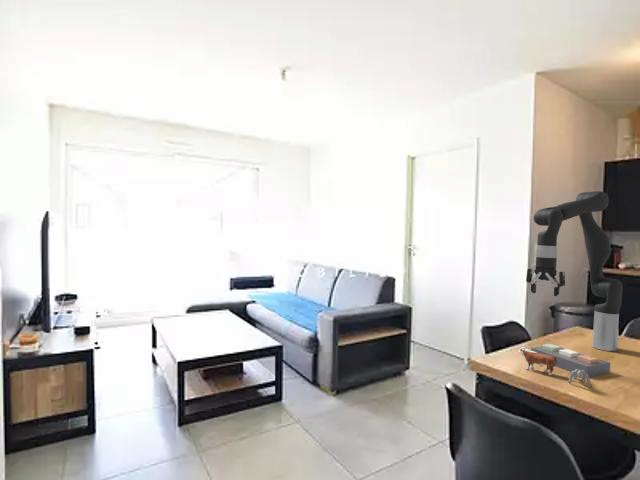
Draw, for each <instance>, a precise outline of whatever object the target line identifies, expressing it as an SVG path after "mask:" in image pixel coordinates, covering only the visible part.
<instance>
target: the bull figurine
mask: <svg viewBox="0 0 640 480" xmlns="http://www.w3.org/2000/svg"><path fill="white" fill-rule="evenodd" d="M518 353H519V354H521V355H522V357H523V359H524V361H525V362H526V363H527V366H526V368H525V369H524V370H525V371H528V370H534V369H535V367H534V364H535V365H539V367H540V368H541V367H543V366H546V369H544V370H543V371H542V372H543V373H548V372H549V373H548V374H547V375H548V376H553V371H554V368H555V366H554V365H555V364H556V363H557V359H556V358H555V357H554V356H551V355H545V354H540V353H536V352H534V351H531V349H530V348H526V347H525V346H522V347H521V348H519V350H518ZM555 361H556V362H555ZM554 363H555V364H554Z"/></svg>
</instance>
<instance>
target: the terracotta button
mask: <svg viewBox="0 0 640 480" xmlns="http://www.w3.org/2000/svg"><path fill="white" fill-rule="evenodd" d="M598 359H599V358H597V357H593V356H590V355H587V354H584V355H581V356H578V358H577V360H579V361H582V362H585V363H588V364H595V363H598Z"/></svg>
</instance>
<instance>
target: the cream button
mask: <svg viewBox="0 0 640 480" xmlns="http://www.w3.org/2000/svg"><path fill="white" fill-rule="evenodd" d="M579 353H580V352H578V351H575V350H572V349H569V348H565V349H564V350H559V354H561V355H564V356H567V357H570V358H572V357H578V356H579Z"/></svg>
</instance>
